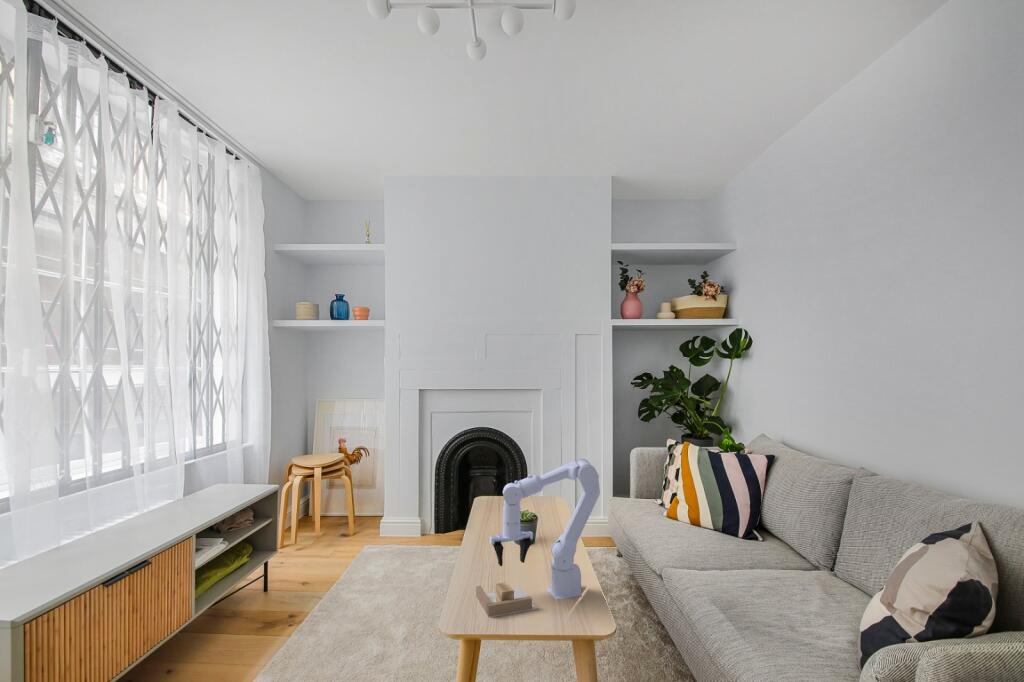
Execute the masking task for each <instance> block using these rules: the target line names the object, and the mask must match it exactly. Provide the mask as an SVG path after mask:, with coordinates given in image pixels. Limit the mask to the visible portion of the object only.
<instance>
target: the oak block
mask: <svg viewBox="0 0 1024 682" xmlns="http://www.w3.org/2000/svg"><path fill="white" fill-rule="evenodd" d="M513 589H514V588H513V587H512V586H511V584H510V582H508V581H507V582H500V583H495V592H496V601H497V602H499V601H505V600H511V599H514V590H513Z"/></svg>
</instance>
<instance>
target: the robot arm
mask: <svg viewBox="0 0 1024 682" xmlns="http://www.w3.org/2000/svg"><path fill="white" fill-rule="evenodd" d="M577 478H578V480H579V482H580V485H581V487H582V489H583V491H582V494H581V495H580V497H579V500H578V502H577V504H576V507H575V509H574V510H573V513H572V514H571V517H570V518H569V520H568V523H567V525H566V527H565V530H564V531H563V533H562V534H561V535H559V537H558V539H557V540H556V541H555V542H553V544H552V545H551V547H550V552H551V555H552V558H553V560H552V562H551V563H550V564H551V565H550V567H551V568H550V569H551V570H550V577H551V578H550V587H547V588H546V590H547V592H548V593H550V594H551V596H552V597H553V598H554V599H555V600H562V599H567V598H573V597H578V596H580V597H582V596H583V594H582V573H581V569H580V566H579V564H577V563H575V554H576V552H577V545H578V541H579V539H580V538H581V535H582V532H583V530H584V529H585V526H586V524H587V522H588V520H589V518H590V516H591V514H592V512H593V509H594V508H595V505H596V503H597V501H598V499H599V497H600V494H601V489H600V481H599V480H600V476H599V474H598V471H597V469H596V468H595V467H594V466H593V464H591V463H590V461H589V460H587V459H585V458H579V459H576V460H573V461H570V462H568V463H566V464H564V465H562V466H560V467H557V468H555V469H553V470H550V471H548V472H547V473H544V474H541V475H537V474H531V473H530V474H527V477H525V478H523V479H520V480H518V479H517V480H514V483H513V482H510V483H509V482H508V483H507V484H506V485H504V487H503V490H502V495H503V501H502V502H503V506H502V533H499V534H494V535H490V536H489V543H490V545H492V546H493V548H494V552H495V555H496V558H497V561H498V562H497V563H498V565H499V567H502V566H503V562H504V561H503V553H504V546H503V543H508V542H513V541H514V542H516V541H519V549H520V551H519V561H520V562H521V563H523V564H525V561H526V556H527V554H528V552H529V549H530V548H531V545H532V541H531V540H533V539H534V533H533V532H532V531H530V530H529V531H521V504H520V503H521V501H522V499H525V498H528V497H530V496H533V495H536V494H538V493H541V492H542V491H543V488H544V487H545V486H548V485H551V484H553V483H556V482H559V481H562V480H565V479H568V480H572V481H577Z"/></svg>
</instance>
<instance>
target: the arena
mask: <svg viewBox="0 0 1024 682" xmlns="http://www.w3.org/2000/svg"><path fill="white" fill-rule="evenodd" d="M513 590H514V599H511V600H505V601H499V602H497V601H496V591H495V592H488V593H486V591H485V590H484V589H483V587H482V586H481V585H476V586H475V598H476V599H477V600H478V602H479V604H480V605H481V607H482V610H484V612H485V614H486V615H487V617H488V618H489V619H490V618H494V617H499V616H500V617H501V616H506V615H509V614H510V615H511V614H516V613H521V612H527V611H531V610H532V611H533V610H537V609H538V608H537V607H536V605H535V604H534V603H533V598H532V597H531V596H530V595H529V596H528V595H527V594H526V593H525V592H524V590H523V589H522V587H519V588H513Z"/></svg>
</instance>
